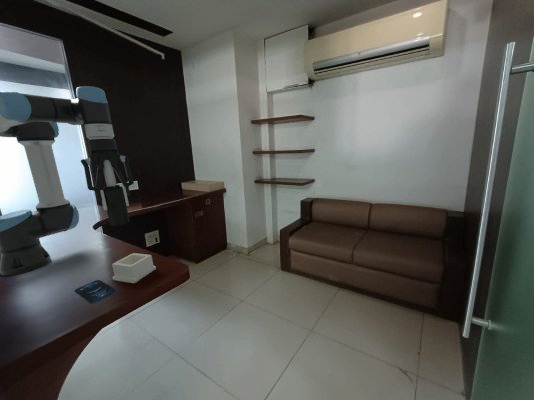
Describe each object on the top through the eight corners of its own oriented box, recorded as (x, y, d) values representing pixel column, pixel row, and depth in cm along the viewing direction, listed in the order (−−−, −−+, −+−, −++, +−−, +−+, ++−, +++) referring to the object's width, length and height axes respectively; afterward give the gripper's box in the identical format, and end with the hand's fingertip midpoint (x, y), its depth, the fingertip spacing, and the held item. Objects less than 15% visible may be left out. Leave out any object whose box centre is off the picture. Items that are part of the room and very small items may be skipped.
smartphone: (98, 279, 85) (118, 290, 77) (99, 280, 85) (118, 292, 77) (72, 290, 79) (90, 304, 70) (73, 291, 79) (91, 305, 71)
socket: (113, 280, 84) (109, 264, 83) (136, 266, 93) (133, 252, 92) (134, 283, 81) (131, 267, 79) (156, 268, 90) (153, 254, 89)
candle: (116, 226, 79) (98, 151, 74) (108, 224, 82) (91, 152, 77) (131, 222, 83) (116, 150, 78) (123, 220, 86) (108, 151, 81)
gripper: (64, 138, 68) (83, 215, 73) (135, 137, 80) (148, 203, 84) (64, 140, 73) (82, 212, 78) (130, 138, 85) (142, 200, 90)
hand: (116, 207), depth 81 cm, fingers closed on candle, 6 cm apart
